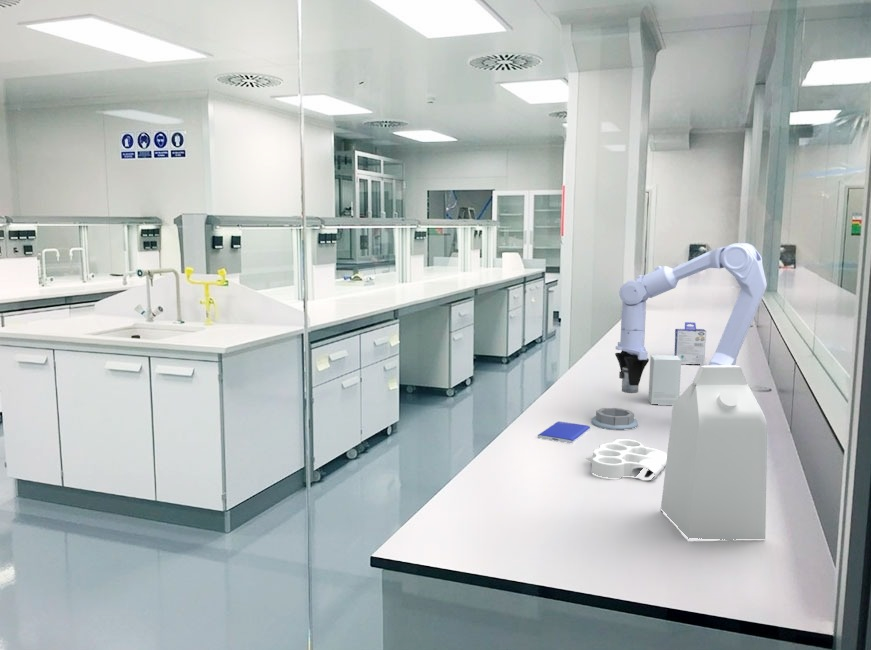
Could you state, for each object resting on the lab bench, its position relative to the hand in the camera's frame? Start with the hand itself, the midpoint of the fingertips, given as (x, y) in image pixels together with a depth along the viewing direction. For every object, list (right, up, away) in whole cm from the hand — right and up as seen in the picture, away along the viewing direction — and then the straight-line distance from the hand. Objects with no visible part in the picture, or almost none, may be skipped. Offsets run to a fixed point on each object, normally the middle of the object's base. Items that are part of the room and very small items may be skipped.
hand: (630, 383), depth 174 cm
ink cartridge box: (+41, +1, +72) cm, 83 cm away
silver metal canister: (0, -2, 0) cm, 2 cm away
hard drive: (-19, -11, -13) cm, 25 cm away
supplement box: (+14, -7, +17) cm, 23 cm away
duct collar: (-5, -10, -4) cm, 12 cm away
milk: (-4, -18, -62) cm, 64 cm away
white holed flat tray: (-11, -14, -34) cm, 39 cm away
